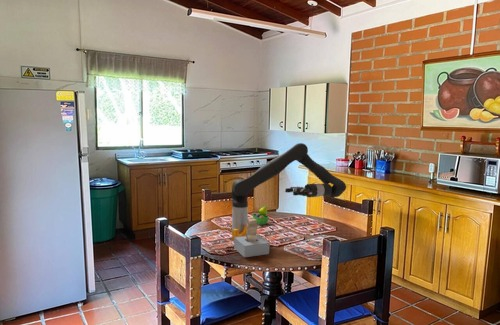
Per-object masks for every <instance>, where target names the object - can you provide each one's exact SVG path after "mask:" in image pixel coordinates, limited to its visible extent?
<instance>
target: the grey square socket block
mask: <svg viewBox="0 0 500 325" xmlns="http://www.w3.org/2000/svg"><path fill="white" fill-rule="evenodd" d="M233 248H235V251H236V252H238V254H240V255H241V256H242V257H243V258H249V257H251V258H252V257H256V256H257V257H258V256H263V255H269V254H270V242H269V241H268V240H266V239H265V238H264V237H262V236H261V235H259V234H257V237H256V241H254V242H247V241H246V236H243V237H234V240H233Z"/></svg>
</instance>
